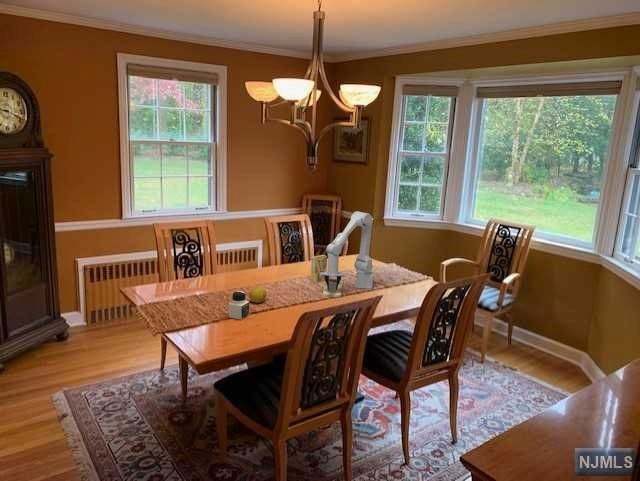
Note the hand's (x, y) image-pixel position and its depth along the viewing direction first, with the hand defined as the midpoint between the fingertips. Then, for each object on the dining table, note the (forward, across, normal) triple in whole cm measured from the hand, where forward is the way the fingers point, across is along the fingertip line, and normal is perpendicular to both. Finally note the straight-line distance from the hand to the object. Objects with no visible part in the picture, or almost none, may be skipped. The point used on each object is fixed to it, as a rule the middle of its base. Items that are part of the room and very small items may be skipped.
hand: (332, 289), depth 268 cm
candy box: (+3, -9, +22) cm, 24 cm away
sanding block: (+1, 0, 0) cm, 1 cm away
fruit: (+3, -38, -19) cm, 43 cm away
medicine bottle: (+3, -43, -40) cm, 59 cm away
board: (+2, 0, +4) cm, 5 cm away
